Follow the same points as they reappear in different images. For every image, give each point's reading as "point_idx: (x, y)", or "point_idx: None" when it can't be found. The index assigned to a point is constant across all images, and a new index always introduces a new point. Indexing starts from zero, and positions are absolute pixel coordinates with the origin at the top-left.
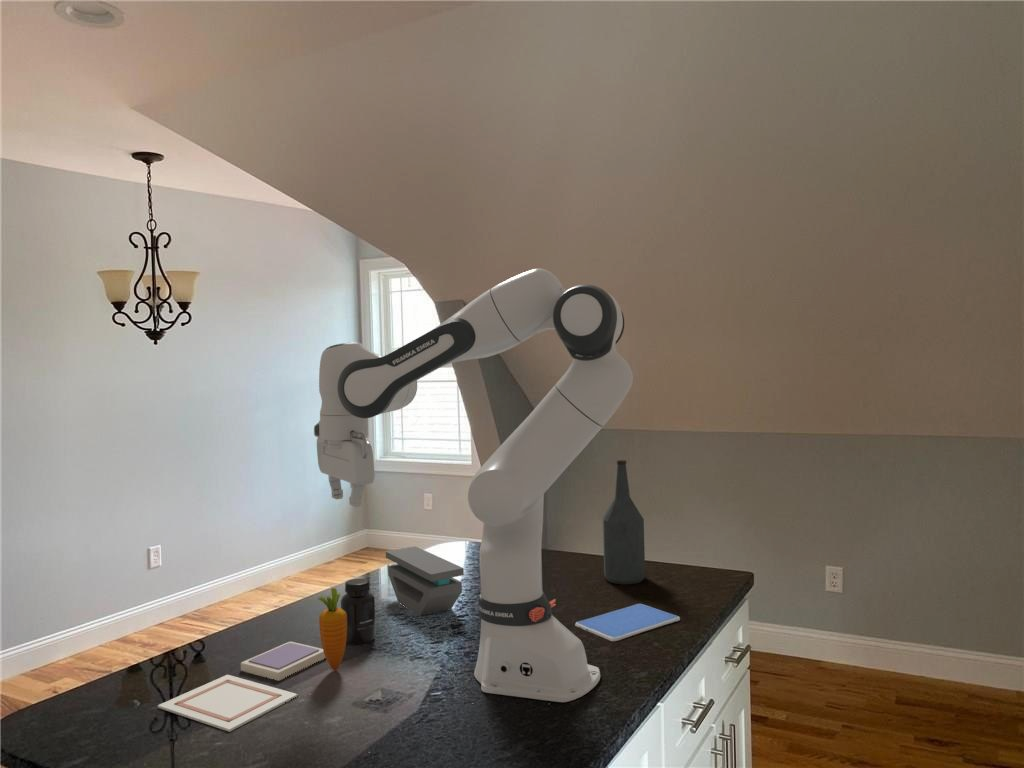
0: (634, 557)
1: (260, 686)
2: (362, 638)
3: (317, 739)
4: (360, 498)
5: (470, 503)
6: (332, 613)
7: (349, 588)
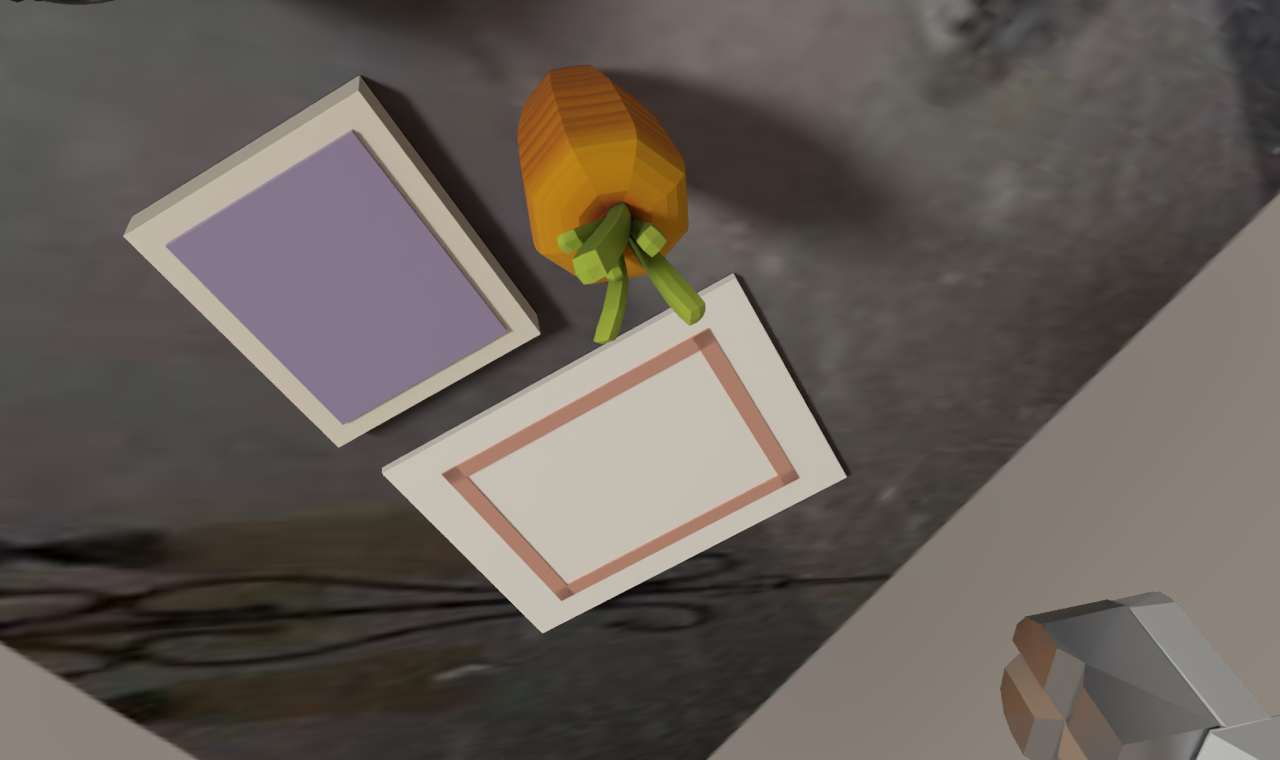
0: None
1: (577, 383)
2: None
3: (1081, 269)
4: (1240, 698)
5: None
6: (671, 236)
7: None
